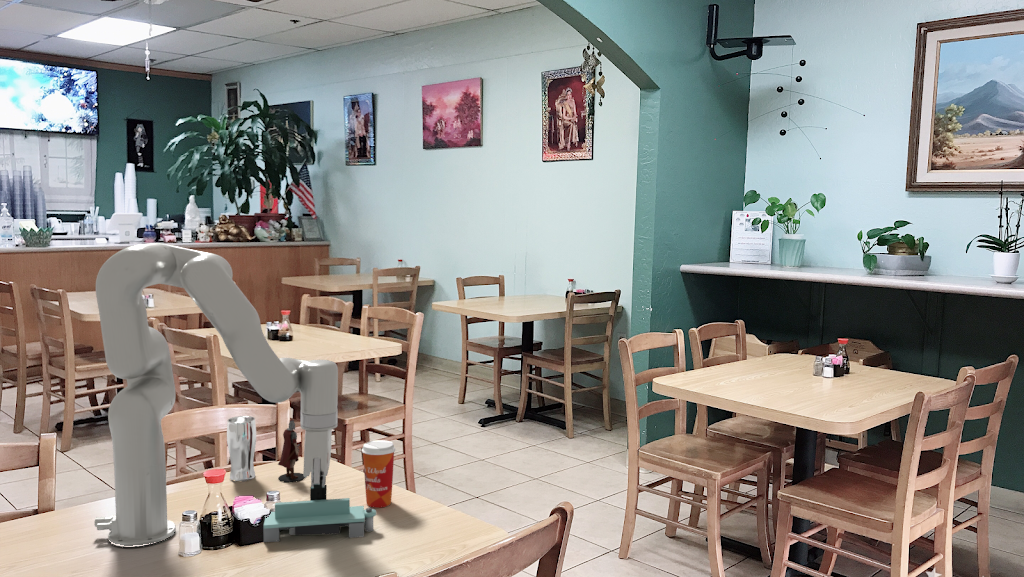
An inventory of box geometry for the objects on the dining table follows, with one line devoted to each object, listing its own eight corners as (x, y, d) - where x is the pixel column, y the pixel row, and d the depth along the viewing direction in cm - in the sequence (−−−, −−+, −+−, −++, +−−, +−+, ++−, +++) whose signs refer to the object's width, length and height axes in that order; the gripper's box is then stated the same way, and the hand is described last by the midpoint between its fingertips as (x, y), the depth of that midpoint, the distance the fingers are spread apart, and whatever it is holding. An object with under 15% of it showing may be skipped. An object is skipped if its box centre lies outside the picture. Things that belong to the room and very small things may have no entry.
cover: (263, 528, 158) (263, 510, 158) (266, 515, 165) (266, 498, 165) (376, 520, 163) (376, 503, 163) (375, 508, 170) (375, 491, 169)
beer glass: (222, 478, 197) (220, 419, 195) (245, 471, 202) (244, 414, 201) (239, 484, 193) (238, 424, 191) (262, 476, 198) (261, 418, 197)
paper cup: (355, 505, 180) (354, 445, 178) (375, 495, 187) (375, 437, 185) (382, 512, 176) (382, 451, 175) (402, 501, 183) (402, 442, 182)
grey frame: (263, 542, 159) (263, 526, 159) (268, 528, 166) (268, 513, 166) (373, 536, 163) (373, 521, 163) (373, 523, 170) (373, 508, 170)
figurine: (310, 478, 197) (309, 420, 196) (283, 485, 193) (282, 425, 191) (297, 471, 202) (296, 414, 201) (271, 478, 197) (270, 419, 196)
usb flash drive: (289, 535, 163) (289, 526, 163) (291, 530, 166) (291, 521, 165) (339, 534, 164) (339, 524, 164) (340, 529, 167) (340, 520, 166)
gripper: (304, 410, 171) (303, 492, 173) (296, 429, 156) (296, 518, 158) (339, 410, 172) (338, 491, 174) (335, 429, 158) (334, 517, 159)
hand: (318, 504), depth 166 cm, fingers closed
